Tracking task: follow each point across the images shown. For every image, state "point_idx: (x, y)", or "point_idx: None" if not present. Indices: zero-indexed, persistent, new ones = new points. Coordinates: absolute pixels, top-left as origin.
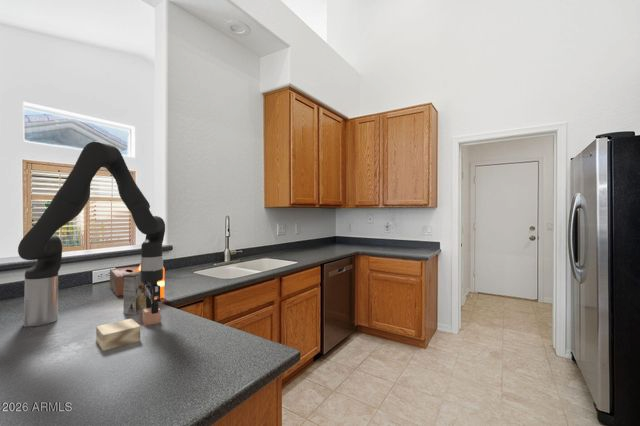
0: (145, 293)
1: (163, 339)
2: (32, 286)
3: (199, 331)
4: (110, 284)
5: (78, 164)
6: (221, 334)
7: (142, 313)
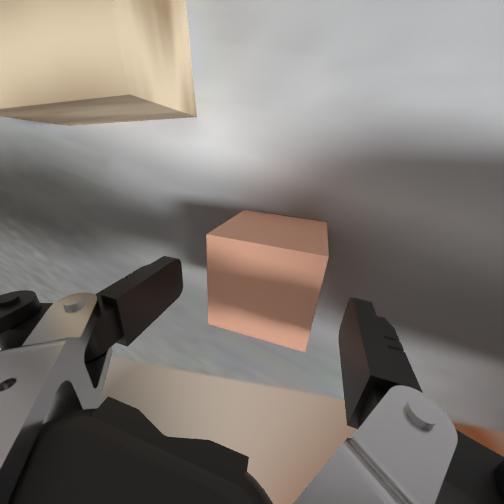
0: (317, 478)
1: (53, 201)
2: None
3: None
4: None
5: None
6: None
7: (327, 241)
